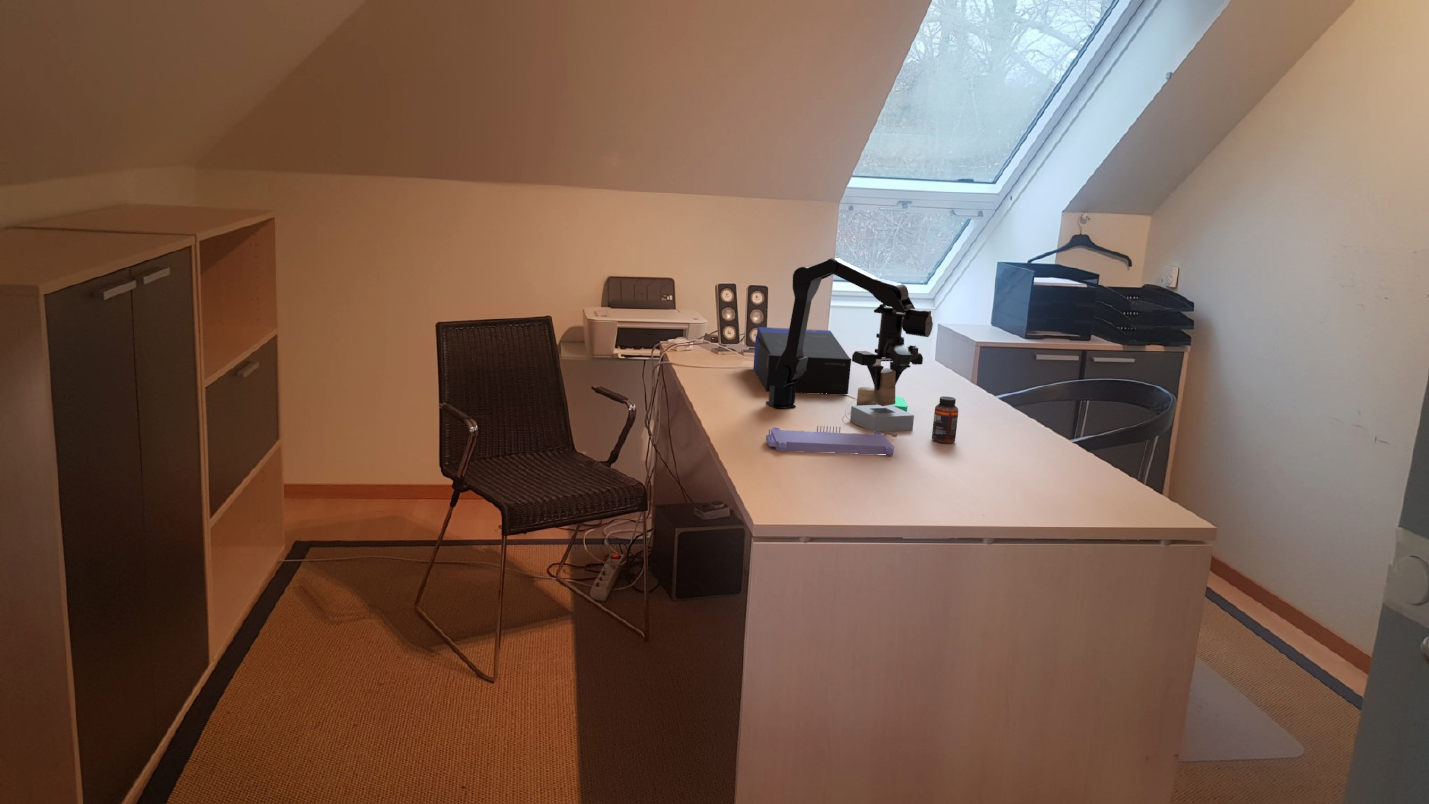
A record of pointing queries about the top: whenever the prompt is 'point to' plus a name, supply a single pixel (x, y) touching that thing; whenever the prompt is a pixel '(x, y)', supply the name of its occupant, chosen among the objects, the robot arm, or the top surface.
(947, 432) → the supplement bottle
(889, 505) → the top surface
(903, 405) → the green angle bracket
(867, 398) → the round dowel
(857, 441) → the computer part
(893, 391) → the square peg
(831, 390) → the headphone box
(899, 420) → the socket block
